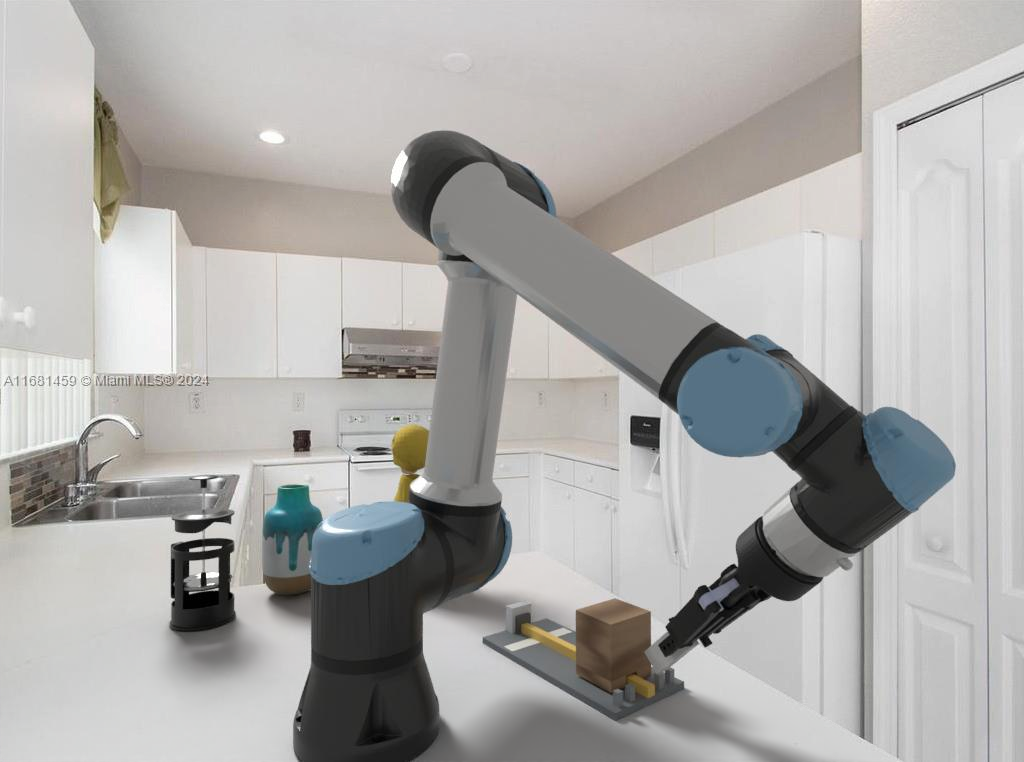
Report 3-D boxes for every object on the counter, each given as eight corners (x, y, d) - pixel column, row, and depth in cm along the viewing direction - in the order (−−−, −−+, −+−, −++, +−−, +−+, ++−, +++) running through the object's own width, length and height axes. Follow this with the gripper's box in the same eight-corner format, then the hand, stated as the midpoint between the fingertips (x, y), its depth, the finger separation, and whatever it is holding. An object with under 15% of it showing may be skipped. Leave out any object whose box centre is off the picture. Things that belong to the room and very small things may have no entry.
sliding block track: (684, 688, 74) (684, 651, 74) (615, 720, 67) (615, 680, 67) (546, 623, 95) (546, 595, 95) (482, 642, 88) (482, 612, 88)
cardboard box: (651, 675, 75) (650, 611, 75) (611, 692, 71) (610, 624, 71) (615, 658, 80) (615, 598, 80) (576, 673, 76) (575, 609, 76)
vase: (304, 604, 104) (304, 491, 104) (248, 600, 106) (249, 489, 107) (334, 584, 114) (334, 482, 115) (283, 581, 117) (283, 481, 117)
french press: (252, 615, 99) (252, 473, 100) (202, 636, 91) (202, 481, 91) (199, 605, 104) (200, 469, 104) (147, 625, 95) (148, 477, 96)
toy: (389, 572, 122) (389, 422, 122) (451, 572, 122) (450, 421, 123) (372, 599, 106) (372, 427, 107) (443, 598, 107) (442, 426, 107)
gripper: (783, 595, 51) (633, 712, 64) (855, 567, 59) (709, 676, 72) (727, 521, 56) (597, 644, 69) (801, 504, 63) (672, 618, 77)
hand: (654, 661), depth 70 cm, fingers closed
